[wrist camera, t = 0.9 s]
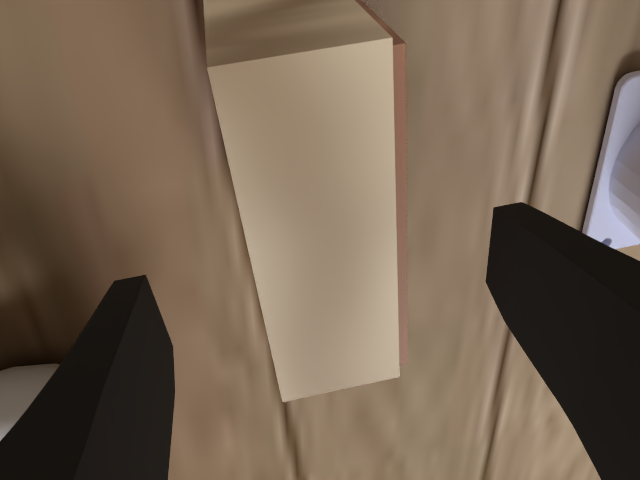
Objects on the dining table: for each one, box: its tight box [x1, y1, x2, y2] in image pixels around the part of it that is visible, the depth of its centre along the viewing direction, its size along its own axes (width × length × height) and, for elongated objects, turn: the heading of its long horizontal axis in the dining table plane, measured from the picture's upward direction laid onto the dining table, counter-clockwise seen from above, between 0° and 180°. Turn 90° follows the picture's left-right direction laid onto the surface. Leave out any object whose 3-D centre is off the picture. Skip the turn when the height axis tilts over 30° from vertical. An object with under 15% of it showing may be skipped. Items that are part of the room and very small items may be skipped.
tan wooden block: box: [203, 0, 408, 402], centre depth 15 cm, size 4×9×8 cm, turn 5°
